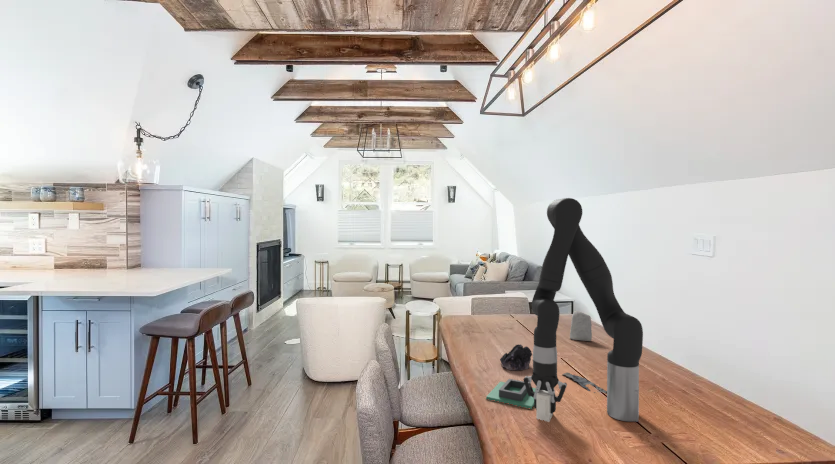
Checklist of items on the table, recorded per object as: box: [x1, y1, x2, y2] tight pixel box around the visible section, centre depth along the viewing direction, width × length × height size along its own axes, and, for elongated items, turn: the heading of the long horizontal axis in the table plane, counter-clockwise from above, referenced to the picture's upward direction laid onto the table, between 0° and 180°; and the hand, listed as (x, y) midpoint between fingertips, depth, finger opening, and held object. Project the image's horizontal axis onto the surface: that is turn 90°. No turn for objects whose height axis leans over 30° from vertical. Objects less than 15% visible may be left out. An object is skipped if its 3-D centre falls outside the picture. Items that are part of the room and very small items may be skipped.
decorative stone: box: [569, 310, 593, 342], centre depth 219 cm, size 11×6×15 cm, turn 58°
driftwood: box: [562, 372, 607, 394], centre depth 161 cm, size 21×7×2 cm, turn 13°
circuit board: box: [485, 378, 536, 410], centre depth 149 cm, size 16×16×4 cm
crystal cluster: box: [499, 344, 533, 371], centre depth 180 cm, size 13×14×10 cm
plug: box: [535, 390, 554, 423], centre depth 132 cm, size 4×7×8 cm, turn 151°
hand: (544, 411), depth 133 cm, fingers closed on plug, 4 cm apart
